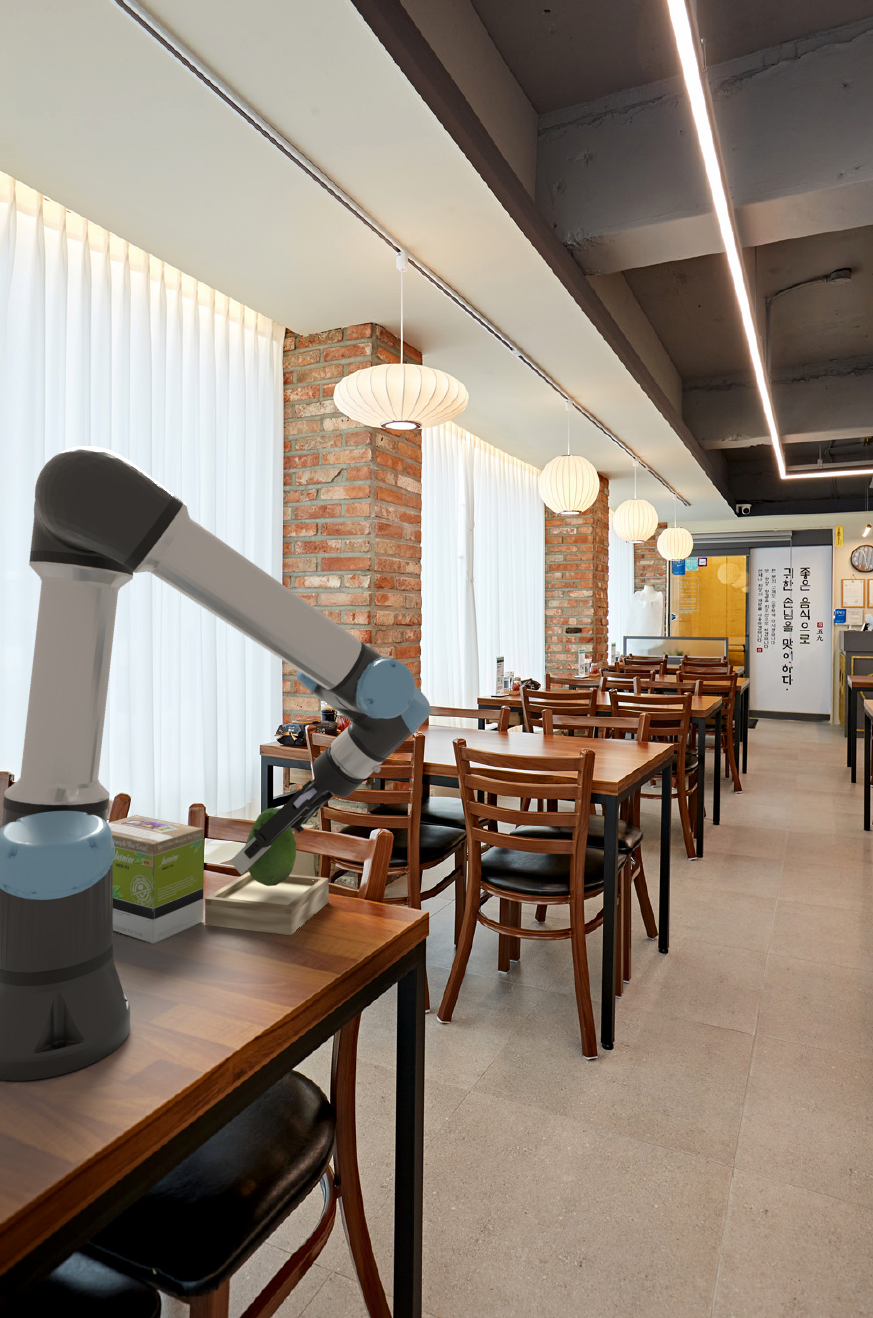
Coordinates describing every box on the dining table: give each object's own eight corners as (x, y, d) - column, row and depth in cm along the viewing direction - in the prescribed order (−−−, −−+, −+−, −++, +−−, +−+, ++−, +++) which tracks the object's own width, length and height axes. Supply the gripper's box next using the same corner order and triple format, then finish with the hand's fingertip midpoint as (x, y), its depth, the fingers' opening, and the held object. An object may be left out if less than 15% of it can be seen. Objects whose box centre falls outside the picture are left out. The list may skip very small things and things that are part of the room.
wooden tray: (291, 935, 110) (291, 907, 110) (205, 924, 114) (205, 898, 114) (328, 902, 124) (328, 878, 124) (250, 893, 127) (250, 870, 127)
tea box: (81, 925, 113) (81, 826, 113) (136, 904, 122) (136, 812, 122) (153, 945, 106) (153, 841, 106) (206, 922, 115) (206, 825, 114)
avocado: (302, 877, 122) (303, 803, 121) (286, 894, 114) (286, 815, 114) (255, 874, 123) (255, 801, 123) (235, 891, 115) (235, 812, 115)
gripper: (338, 795, 104) (231, 899, 109) (385, 769, 124) (293, 858, 129) (302, 754, 105) (199, 860, 110) (354, 735, 125) (265, 825, 130)
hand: (250, 859), depth 119 cm, fingers closed on avocado, 8 cm apart
